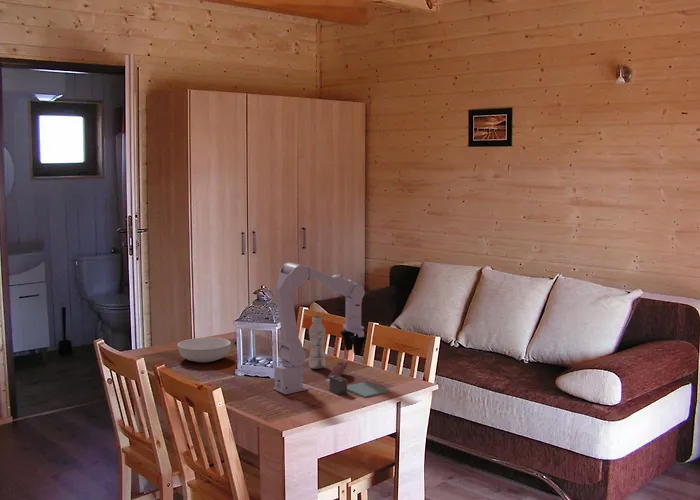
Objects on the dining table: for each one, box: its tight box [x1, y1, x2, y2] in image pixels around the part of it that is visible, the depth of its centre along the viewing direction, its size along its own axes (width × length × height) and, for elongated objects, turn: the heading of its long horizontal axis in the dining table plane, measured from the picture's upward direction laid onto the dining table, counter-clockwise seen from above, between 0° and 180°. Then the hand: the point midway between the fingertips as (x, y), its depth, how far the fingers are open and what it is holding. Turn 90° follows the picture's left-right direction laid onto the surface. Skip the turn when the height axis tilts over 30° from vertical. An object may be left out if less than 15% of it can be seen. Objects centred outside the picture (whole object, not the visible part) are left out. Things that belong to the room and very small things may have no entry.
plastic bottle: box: [308, 315, 327, 370], centre depth 295 cm, size 6×7×20 cm
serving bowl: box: [177, 337, 232, 364], centre depth 308 cm, size 21×21×7 cm
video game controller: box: [327, 360, 349, 379], centre depth 284 cm, size 10×5×7 cm, turn 168°
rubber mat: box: [347, 381, 391, 398], centre depth 268 cm, size 11×13×1 cm
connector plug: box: [324, 375, 348, 396], centre depth 267 cm, size 3×11×5 cm, turn 37°
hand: (353, 352), depth 281 cm, fingers open, 7 cm apart
